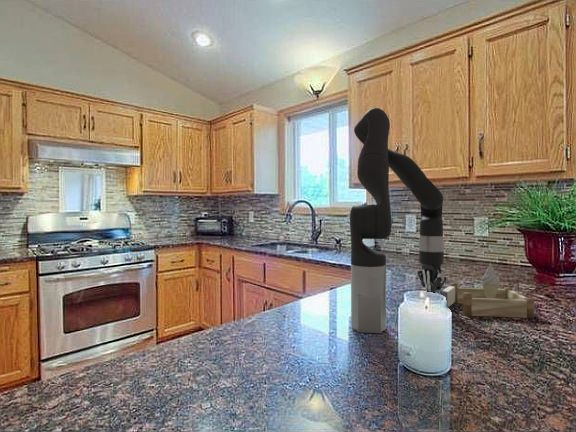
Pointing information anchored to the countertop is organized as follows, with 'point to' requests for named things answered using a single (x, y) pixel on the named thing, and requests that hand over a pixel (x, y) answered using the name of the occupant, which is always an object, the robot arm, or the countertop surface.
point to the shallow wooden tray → (494, 303)
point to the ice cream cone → (490, 282)
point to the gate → (449, 295)
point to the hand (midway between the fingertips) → (431, 302)
